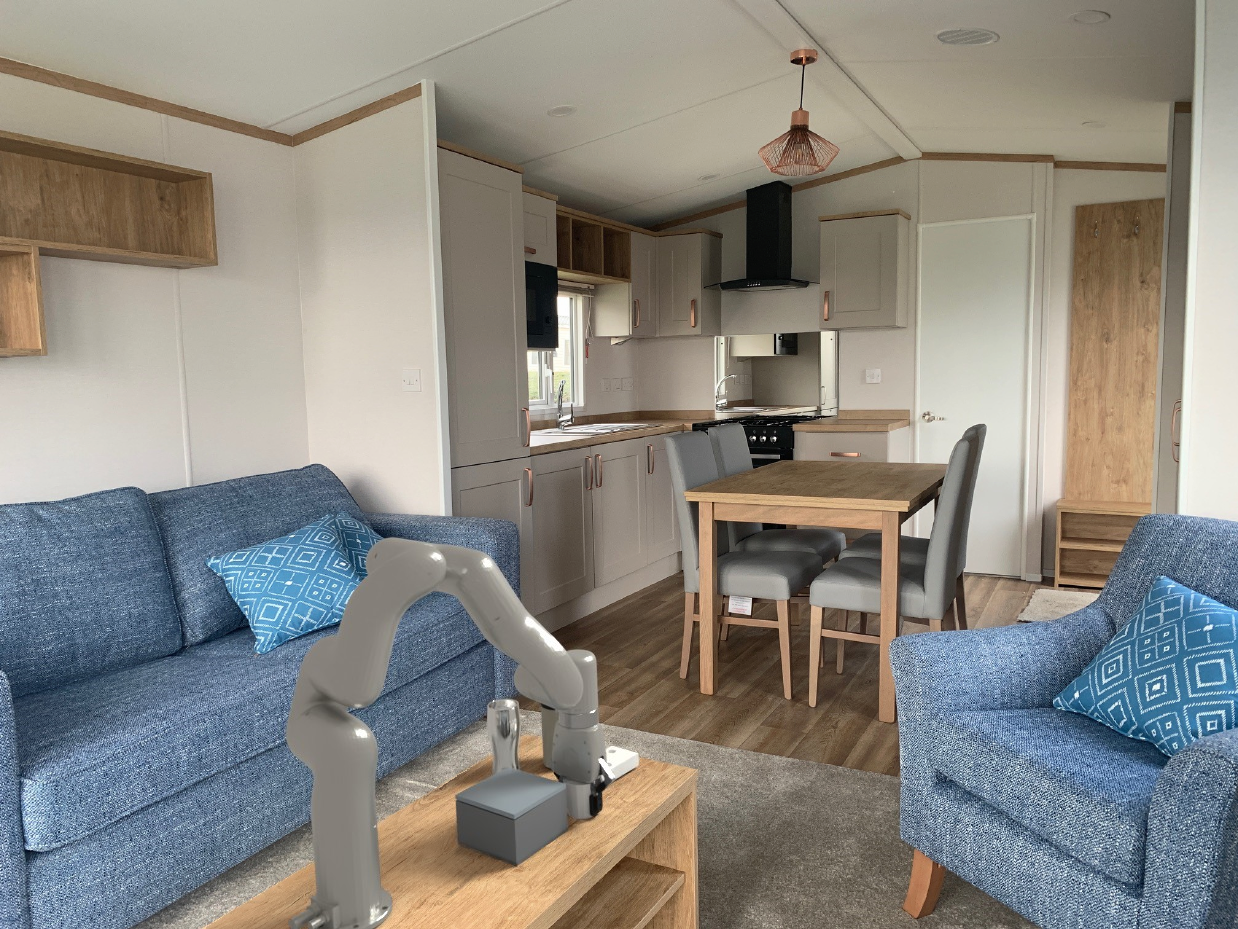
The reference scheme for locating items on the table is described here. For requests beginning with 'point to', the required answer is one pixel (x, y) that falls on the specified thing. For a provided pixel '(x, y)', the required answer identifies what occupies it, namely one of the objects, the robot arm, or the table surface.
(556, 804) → the storage box
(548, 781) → the lid
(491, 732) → the silver metal tumbler
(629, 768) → the bracket
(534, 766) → the table surface
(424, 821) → the table surface
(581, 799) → the white cup
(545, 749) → the travel mug
